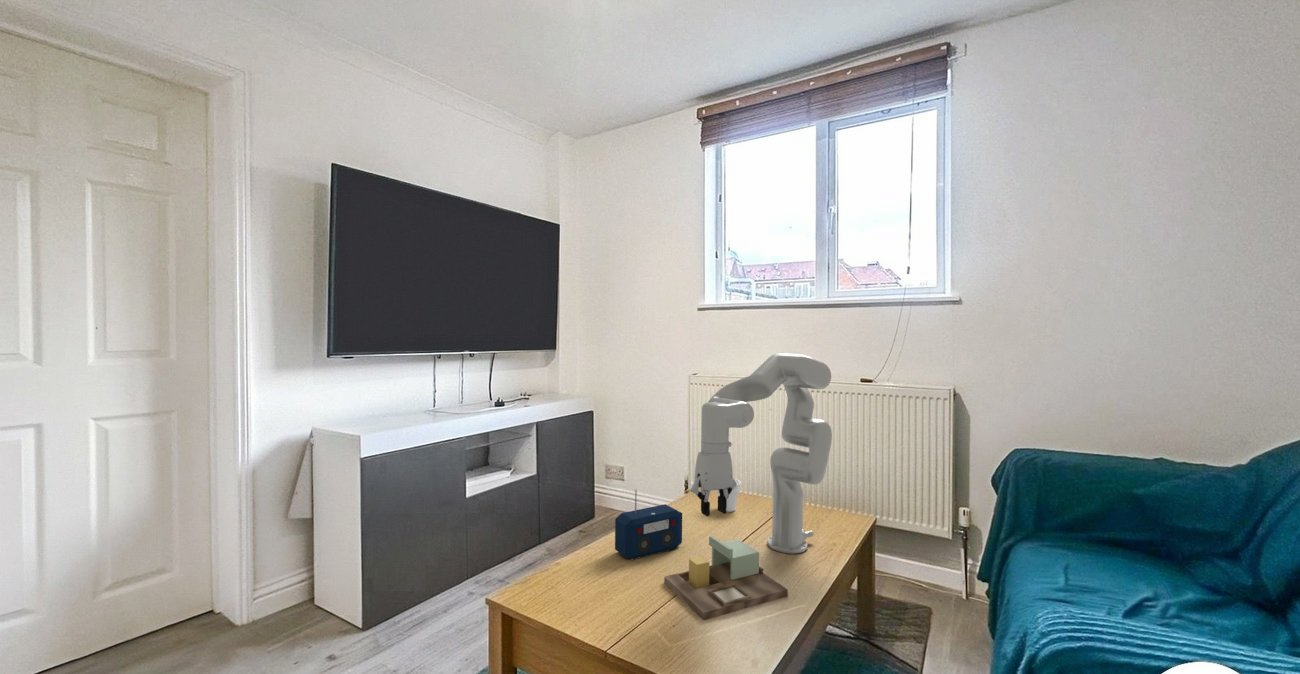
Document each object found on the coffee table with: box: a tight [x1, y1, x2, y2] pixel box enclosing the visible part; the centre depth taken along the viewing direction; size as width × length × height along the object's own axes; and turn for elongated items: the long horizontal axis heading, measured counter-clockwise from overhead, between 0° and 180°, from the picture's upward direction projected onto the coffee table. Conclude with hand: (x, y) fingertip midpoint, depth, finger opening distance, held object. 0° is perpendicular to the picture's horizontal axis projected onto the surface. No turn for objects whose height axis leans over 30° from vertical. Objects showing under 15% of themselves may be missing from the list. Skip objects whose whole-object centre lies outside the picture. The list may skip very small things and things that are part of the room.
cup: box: [716, 478, 742, 513], centre depth 202 cm, size 10×10×11 cm
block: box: [688, 555, 710, 589], centre depth 142 cm, size 4×4×7 cm
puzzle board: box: [663, 562, 789, 621], centre depth 140 cm, size 26×20×3 cm
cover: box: [708, 535, 760, 580], centre depth 147 cm, size 10×10×8 cm
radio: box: [614, 488, 683, 560], centre depth 164 cm, size 21×9×20 cm, turn 122°
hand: (713, 512), depth 144 cm, fingers open, 4 cm apart
